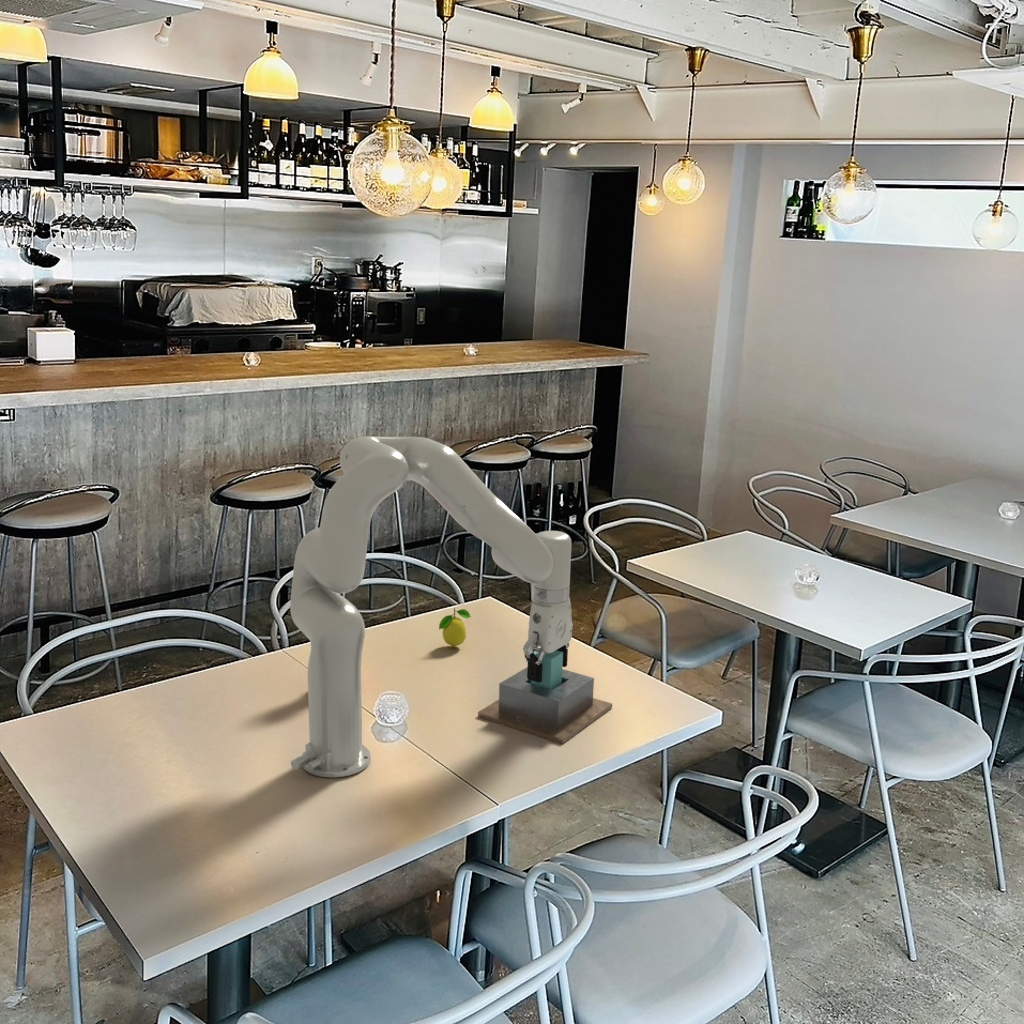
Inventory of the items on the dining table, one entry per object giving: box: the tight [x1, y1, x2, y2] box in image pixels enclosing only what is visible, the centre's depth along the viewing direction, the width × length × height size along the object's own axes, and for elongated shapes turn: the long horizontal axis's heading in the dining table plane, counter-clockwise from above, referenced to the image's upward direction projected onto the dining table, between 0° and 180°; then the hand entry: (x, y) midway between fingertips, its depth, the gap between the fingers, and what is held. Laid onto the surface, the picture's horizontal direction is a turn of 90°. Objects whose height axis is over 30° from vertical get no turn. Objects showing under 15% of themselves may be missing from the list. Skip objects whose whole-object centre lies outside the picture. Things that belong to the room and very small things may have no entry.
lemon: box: [438, 607, 472, 648], centre depth 249 cm, size 7×6×10 cm
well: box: [477, 667, 613, 745], centre depth 217 cm, size 20×20×7 cm
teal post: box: [531, 650, 563, 690], centre depth 216 cm, size 5×5×12 cm
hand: (547, 672), depth 215 cm, fingers open, 9 cm apart
